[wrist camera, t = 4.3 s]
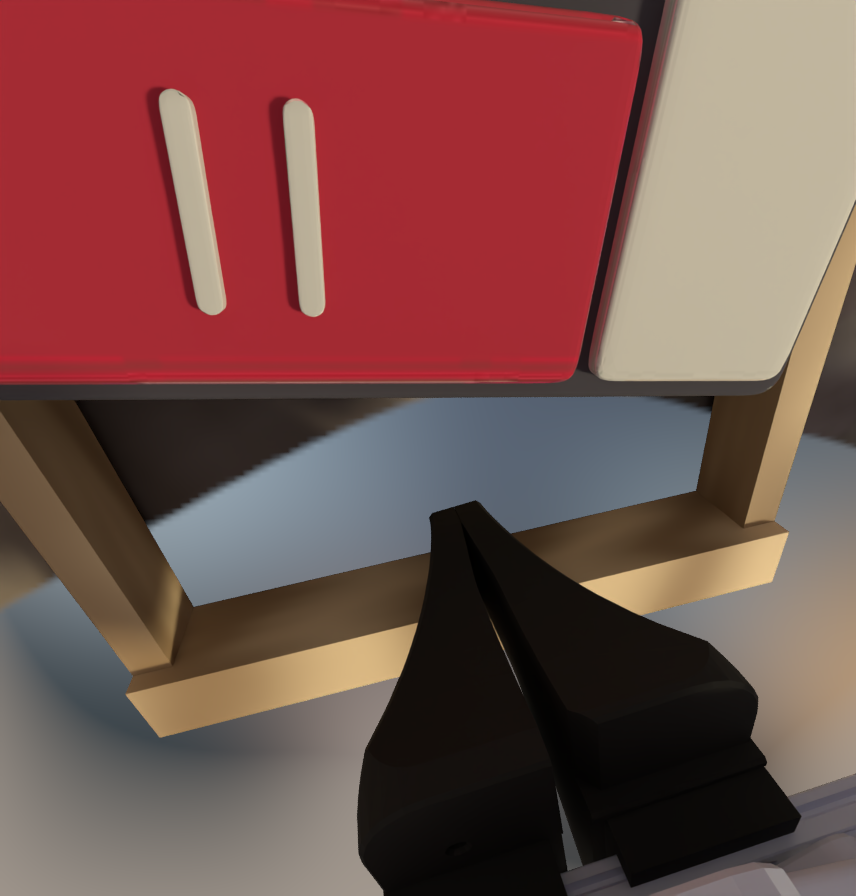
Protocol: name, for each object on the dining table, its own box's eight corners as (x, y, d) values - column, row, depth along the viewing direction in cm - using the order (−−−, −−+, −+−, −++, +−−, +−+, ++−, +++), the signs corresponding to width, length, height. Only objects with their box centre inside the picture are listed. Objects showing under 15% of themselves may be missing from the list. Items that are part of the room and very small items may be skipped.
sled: (1024, -808, 5) (1474, -1467, 3) (713, 530, 16) (772, 581, 14) (-809, -894, 4) (-2245, -2270, 2) (186, 657, 14) (159, 738, 12)
